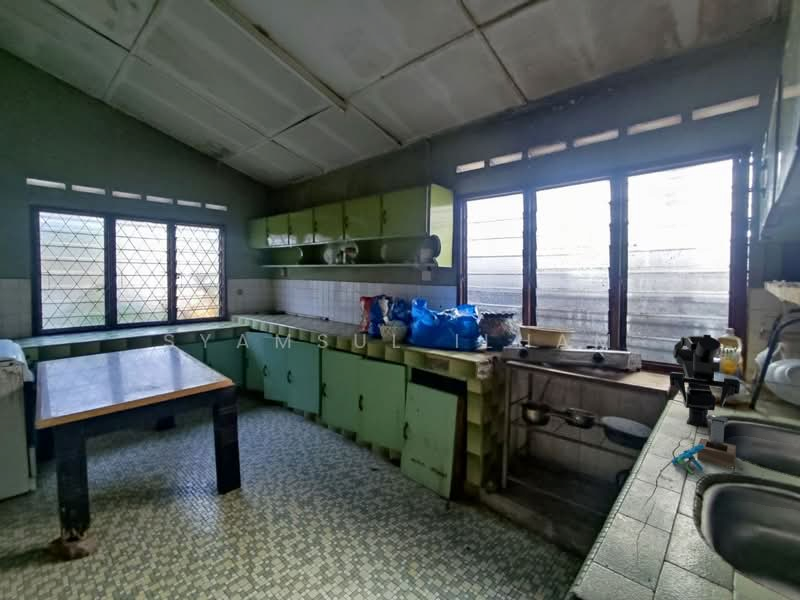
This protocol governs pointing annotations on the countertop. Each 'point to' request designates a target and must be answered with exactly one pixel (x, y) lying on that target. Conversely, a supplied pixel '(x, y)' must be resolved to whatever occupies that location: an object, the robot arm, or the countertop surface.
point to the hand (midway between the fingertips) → (702, 404)
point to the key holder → (717, 454)
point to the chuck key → (717, 431)
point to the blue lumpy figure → (689, 457)
